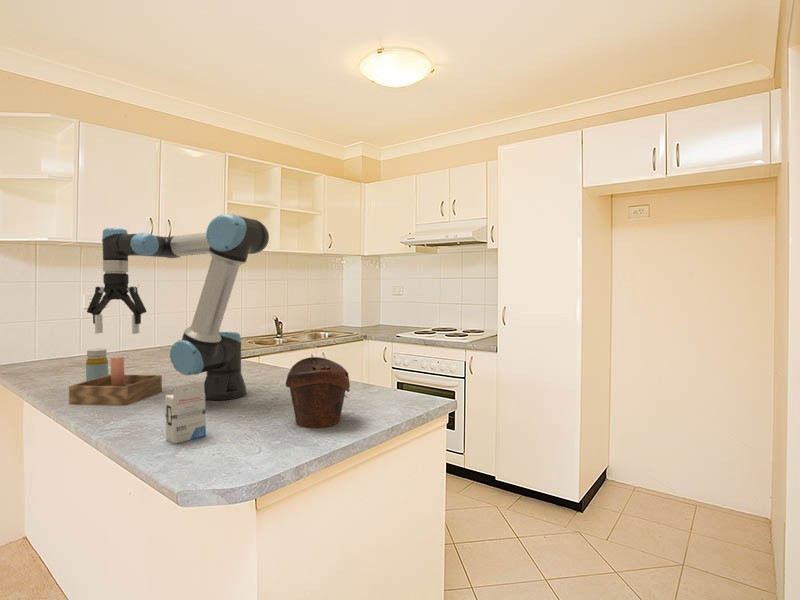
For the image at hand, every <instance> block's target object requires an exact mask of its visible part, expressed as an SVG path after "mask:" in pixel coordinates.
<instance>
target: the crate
mask: <svg viewBox="0 0 800 600" xmlns="http://www.w3.org/2000/svg"><path fill="white" fill-rule="evenodd" d="M124 384H125V387H121V386H111V373H110V374H108V375H107V376H103V377H100V378H96V379H92V380H89V381H86V380H85V381H83V382H79V383H75V384H71V385H68V405H90V406H91V405H95V406H97V405H99V406H101V405H103V406H128V405H131V404H133V403H135V402H138V401H140V400H144V399H145V398H148V397H151V396H153V395H156V394H158V393H161V392H163V376H162V375H161V374H124Z"/></svg>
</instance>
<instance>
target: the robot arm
mask: <svg viewBox="0 0 800 600" xmlns="http://www.w3.org/2000/svg"><path fill="white" fill-rule="evenodd" d="M269 240H270V234H269V231H268V229H267V227H266V225H264V224H263V223H262V222H261V221H259V220H257V219H253V218H249V217H244V216H242V215H241V216H240V215H237V214H232V213H231V214H229V213H222V214H220V215H217V216H215V217H214V218H213V219H212V220H210V222H209V224H208V225H207V229H206V231H205V232H200V233H191V234H183V235H180V234H179V235H175V236H173V235H172V236H159V235H154V234H153V233H147V232H145V233H144V232H139V233H129V232H128V230H127V229H126V228H118V227H106V228H104V229H103V230H102V239H101V242H102V271H103V272H104V273H103V276H102V280H103V282H102V283H103V284H104V286H96V287H95V288H94V289H95V290H94V294H93V296H92V299H91V301H90V303H89V306H88V308H87V309H86V312H87V314H91V315H92V323H93V325H94V334H103V332H104V331H103V329H104V328H103V314H102V311H104V310H105V308H106V307H107V305H108V304H109V303H110V301H112V300H116V301H117V300H119V301H120V300H121V301H122V302H124V304H125V305H126V306H127V308H129V310H130V311H131V312H132V313H133V314H131V334H132V335H137V334H139V333H140V324H141V323H142V314H145V313H147V309H146V307H145V305H144V302H143V300H142V299H141V297H140V295H139V291H138V287H137V286H129V285H128V284H129V274H128V273H129V256H132V257H133V256H135V257H136V256H138V257H139V256H141V257H153V258H155V257H156V258H167V259H179V258H181V257H184V256H195V255H206V254H210V256H211V260H210V263H209V267H208V270H207V273H206V277H205V280H204V284H203V287H202V289H201V292H200V296H199V299H198V303H197V306H196V309H195V313H194V316H193V319H192V322H191V325H190V326H189V327H187V328H185V329H184V330H183V334H182V338H181V339H179V340H177V341H176V342H174V343H173V344H172V345H171V348H170V350H169V358H170V359H169V360H170V362H171V363H172V366H173V368H174V369H175V370H176V372H178V373H179V374H181V375H184V376H193V375H196V376H197V375H199V374H202V373H205V372H206V376H205V379H204V391H205V400H208V401H209V400H211V401H223V400H224V401H226V400H231V399H232V400H234V399H239V398H241V397H244V396H246V394H247V385H246V383H245V380H244V376H243V375H242V340H241V339H242V338H241V334H240V333H238V332H233V331H220V329H221V325H222V322H223V319H224V316H225V313H226V310H227V307H228V304H229V300H230V297H231V294H232V291H233V287H234V284H235V282H236V278H237V275H238V272H239V268H240V267H241V265H244V264H246V262H247V259H248V256H249V255H254V254H259V253H261V252H262V251H263V250H265V249H266V248H267V246H268V244H269V242H270V241H269ZM104 293H105V294H104ZM128 293H129V294H128Z"/></svg>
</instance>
